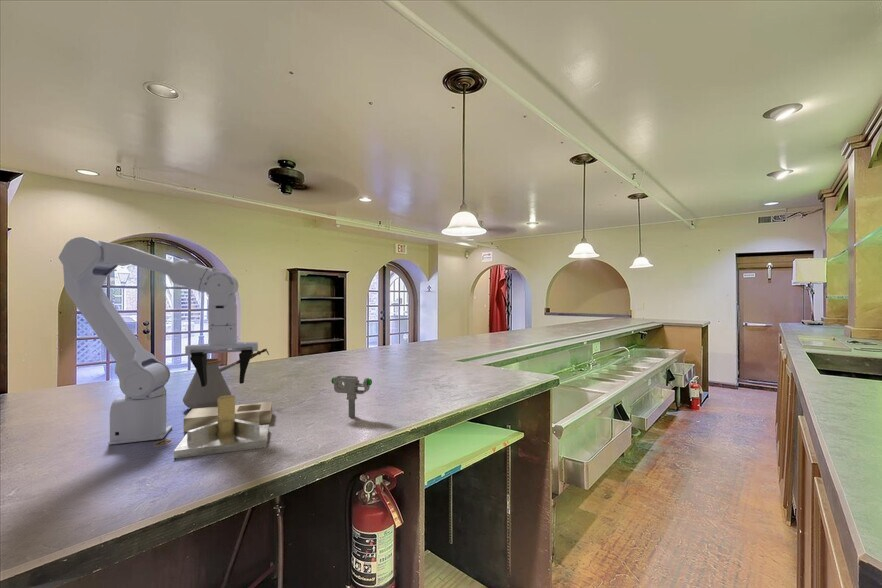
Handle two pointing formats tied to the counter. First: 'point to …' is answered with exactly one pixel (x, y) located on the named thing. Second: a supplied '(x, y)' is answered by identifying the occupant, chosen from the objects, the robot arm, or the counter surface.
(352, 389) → the mechanical component
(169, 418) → the counter surface
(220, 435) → the axle
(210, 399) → the coffee pot
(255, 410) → the beam
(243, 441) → the v-block
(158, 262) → the robot arm
